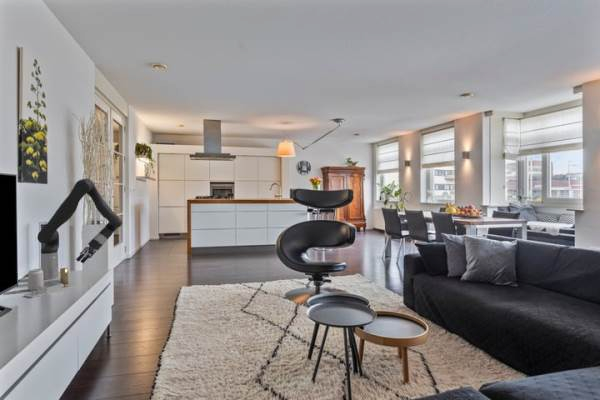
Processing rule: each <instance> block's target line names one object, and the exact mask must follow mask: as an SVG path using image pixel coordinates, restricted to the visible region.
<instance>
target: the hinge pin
mask: <svg viewBox="0 0 600 400" xmlns="http://www.w3.org/2000/svg"><path fill="white" fill-rule="evenodd" d="M68 270H69V268H68V267H63V268H62V267H61V268H59V274H60V277H59V278H60V279H59V280H60V281H59V283H62V284H63V285H64V284H69V271H68Z"/></svg>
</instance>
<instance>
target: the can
mask: <svg viewBox="0 0 600 400" xmlns="http://www.w3.org/2000/svg"><path fill="white" fill-rule="evenodd" d="M28 271H29V272H27V287H28V290H29V291H31V292H35V291H38V286H39V285H44V284H45V281H44V280H45V279H43V271H42V269H41V268H35V269H29V270H28Z"/></svg>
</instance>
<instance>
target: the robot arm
mask: <svg viewBox="0 0 600 400" xmlns="http://www.w3.org/2000/svg"><path fill="white" fill-rule="evenodd" d="M85 195H88V196H89V198H90V199H91V200H92V201H93V205H94V206H95V208H96V210H97V211H98V213H99V214H100V215H101V216H102V217H103V218H104V219H106V220H107V221H108V222H107V224H106V225H105V226H104V227H103V228H102V229H101V230H100V231H99V232H98V233H97V234H96V235H95V236H94V237H93V238H92V239H91V240H90V241H89V242H88V243H87V244H88V246H85V247H84V249H83V250H81V252H79V256H78V257H77V258H76V259H75V260H76V261H77V262H78V263H79V262H80V263H82V264H84V263H85V262H86V261H87V260H89V259H91V258H92V257H93V256H94V255H95V253H96V252H98V251H99V250H100V249H101V248H102V247H103V246H104V245H105V244H106V242H107V241H108V240H109V239H110V237H111V236H112V235H113V234H114V232H115V231H116V230H117V229H119V228H120V227H121V226H123V225H122V224H123V220H122V219H121V217H120V216H119V215H117V213H115V212H114V211H113V209H112V208H111V207H110V206H109V204H108V203H107V202H106V201H105V199H104V198H103V196H102V195H101V193H100V192H99V191H98V189H97V187H96V185H95V183H94V182H93V180H91V179H89V178H83V179H79V180H77V182H76V183H75V184H74V185H73V188H72V189H71V191H70V193H69V194H68V196H67V197H66V198H65V199H64V200H63V202H62V203H61V204H60V205H59V206H58V208H57V210H56V211H55V212H54V214H53V215H52V216H51V218H50V219H49V221H48V222H47V223H46V224H45V225H44V226H43V228H42V229H40V231H39V232H38V233H37V237H36V238H37V241H38V242H39V243H40V244H44V246H43V247H42V248H41V249H40V256H41V259H40V261H41V265H40V267H41V268H40V269H42V271H43V279H44V280H52V279H58V278H60V277H59V274H60V271H59V253H58V252H59V251H58V250H59V248H60V235H59V232H58V229H59V228H60V227H62V226H63V225H64V224H65V223H67V222H68V221H69V220H70V219H71V218H72V216H73V215H74V214H75V212H76V211H77V209H78V206H79V204H80V201H81V200H82V199H83V197H85Z"/></svg>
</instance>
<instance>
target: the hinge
mask: <svg viewBox="0 0 600 400" xmlns="http://www.w3.org/2000/svg"><path fill="white" fill-rule="evenodd" d="M75 287H76V286H75V285H74V284H71V283H70V284H69V283H68V284H64V285H63V284H62V283H61V282H55V281H53V282H47V283H44V285H39V286H38V290H37V291H31V292H27V293H24V297H27V298H31V299H34V298H38V297H41V296H46V295H47V296H48V295H51V294H55V293H58V292H63V291H65V290H69V289H73V288H75Z"/></svg>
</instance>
